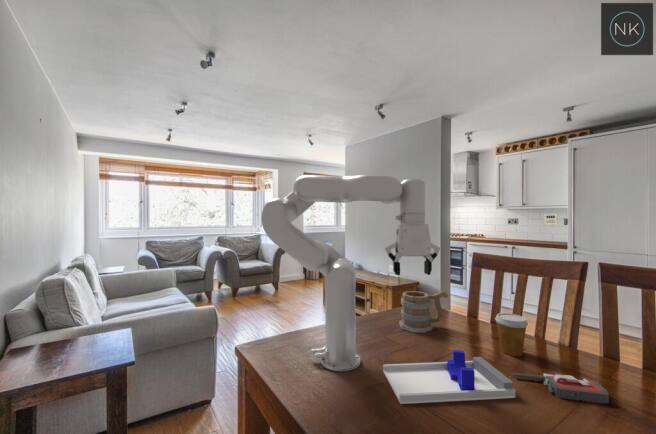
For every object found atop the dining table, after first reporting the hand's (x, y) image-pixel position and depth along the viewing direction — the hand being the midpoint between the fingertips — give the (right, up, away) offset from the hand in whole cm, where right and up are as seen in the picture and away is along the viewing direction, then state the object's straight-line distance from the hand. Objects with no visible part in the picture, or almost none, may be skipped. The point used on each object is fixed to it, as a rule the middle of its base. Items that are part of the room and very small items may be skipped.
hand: (412, 274), depth 92 cm
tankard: (+14, -29, +32) cm, 45 cm away
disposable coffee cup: (+36, -29, +9) cm, 47 cm away
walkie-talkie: (+36, -29, -13) cm, 48 cm away
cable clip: (+10, -28, -10) cm, 31 cm away
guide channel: (+6, -28, -10) cm, 31 cm away
